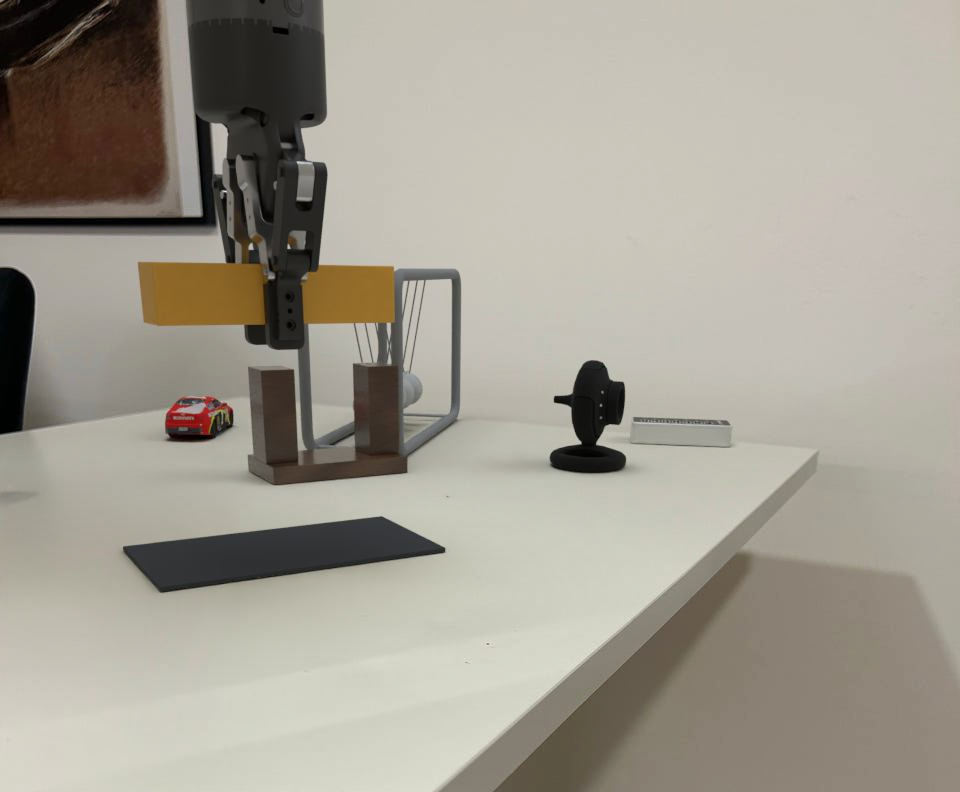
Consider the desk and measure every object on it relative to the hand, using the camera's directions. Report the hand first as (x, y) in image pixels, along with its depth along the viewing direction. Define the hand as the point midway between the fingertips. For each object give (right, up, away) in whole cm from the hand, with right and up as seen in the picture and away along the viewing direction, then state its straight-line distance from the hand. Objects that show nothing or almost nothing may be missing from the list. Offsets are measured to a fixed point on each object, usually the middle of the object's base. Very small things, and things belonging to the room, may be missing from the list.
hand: (274, 345), depth 61 cm
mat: (0, -12, +5) cm, 13 cm away
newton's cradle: (+3, +5, +50) cm, 51 cm away
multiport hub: (+35, +4, +50) cm, 61 cm away
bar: (0, +1, 0) cm, 1 cm away
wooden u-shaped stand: (-1, -3, +30) cm, 30 cm away
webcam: (+23, -1, +35) cm, 43 cm away
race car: (-19, +5, +50) cm, 54 cm away
